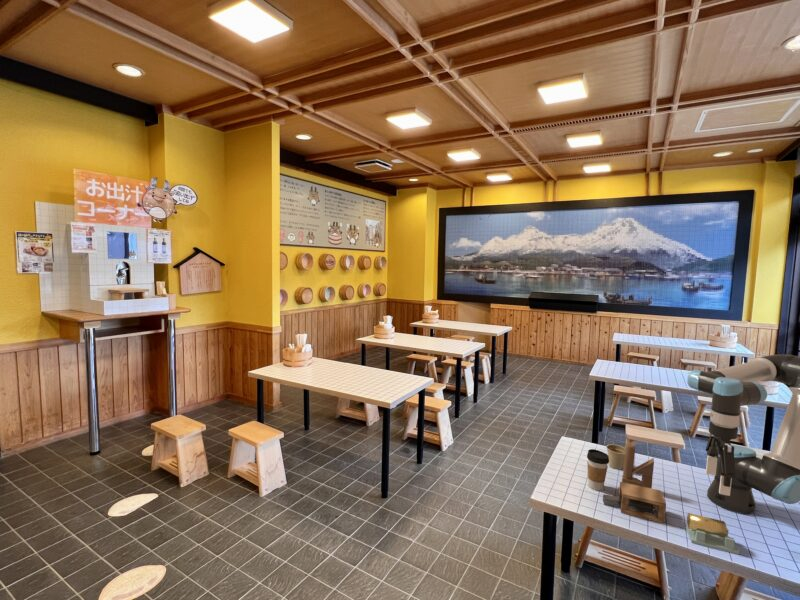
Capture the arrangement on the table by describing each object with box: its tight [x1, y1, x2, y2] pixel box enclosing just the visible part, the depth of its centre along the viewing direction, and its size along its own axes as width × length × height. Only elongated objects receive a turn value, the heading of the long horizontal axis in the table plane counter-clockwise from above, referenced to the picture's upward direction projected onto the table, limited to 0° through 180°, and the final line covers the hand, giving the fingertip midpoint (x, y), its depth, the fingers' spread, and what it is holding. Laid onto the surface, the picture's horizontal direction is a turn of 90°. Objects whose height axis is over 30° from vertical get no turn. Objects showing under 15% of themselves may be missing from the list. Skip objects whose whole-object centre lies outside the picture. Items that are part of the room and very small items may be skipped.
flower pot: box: [605, 444, 626, 470], centre depth 188 cm, size 9×9×9 cm
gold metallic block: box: [686, 512, 728, 537], centre depth 138 cm, size 10×5×5 cm, turn 67°
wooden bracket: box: [621, 443, 655, 489], centre depth 169 cm, size 4×11×18 cm, turn 60°
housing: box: [618, 481, 667, 524], centre depth 154 cm, size 14×9×8 cm
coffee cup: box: [586, 448, 609, 492], centre depth 169 cm, size 8×8×15 cm
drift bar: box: [602, 494, 655, 515], centre depth 156 cm, size 17×3×3 cm, turn 73°
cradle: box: [685, 525, 740, 555], centre depth 138 cm, size 13×8×4 cm, turn 67°
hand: (717, 483), depth 136 cm, fingers open, 13 cm apart
